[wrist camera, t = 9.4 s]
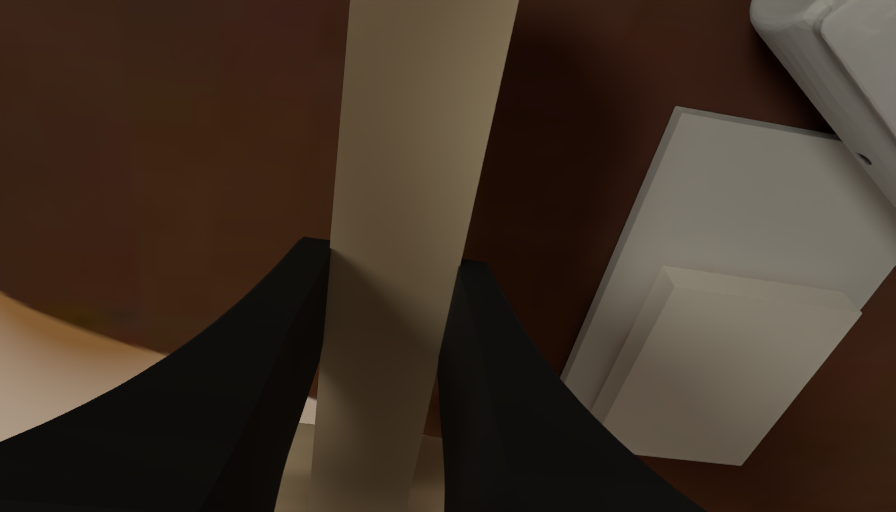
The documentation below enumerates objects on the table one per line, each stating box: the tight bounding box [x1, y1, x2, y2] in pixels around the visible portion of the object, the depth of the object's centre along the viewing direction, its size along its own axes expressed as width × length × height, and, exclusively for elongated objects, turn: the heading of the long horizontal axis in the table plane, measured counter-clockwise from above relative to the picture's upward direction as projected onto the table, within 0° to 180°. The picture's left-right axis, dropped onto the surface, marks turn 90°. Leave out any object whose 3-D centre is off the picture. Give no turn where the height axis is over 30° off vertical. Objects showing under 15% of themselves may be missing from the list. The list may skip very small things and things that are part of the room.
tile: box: [590, 266, 862, 466], centre depth 23 cm, size 7×2×9 cm
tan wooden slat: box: [274, 0, 519, 512], centre depth 13 cm, size 6×16×4 cm, turn 170°
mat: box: [560, 106, 896, 412], centre depth 22 cm, size 10×14×1 cm
